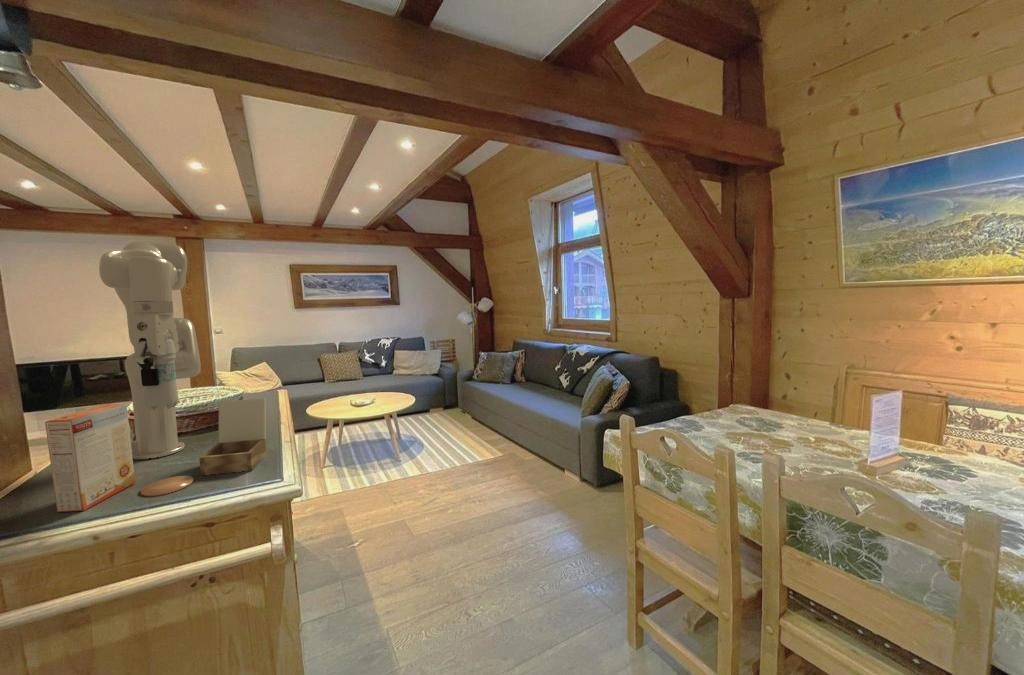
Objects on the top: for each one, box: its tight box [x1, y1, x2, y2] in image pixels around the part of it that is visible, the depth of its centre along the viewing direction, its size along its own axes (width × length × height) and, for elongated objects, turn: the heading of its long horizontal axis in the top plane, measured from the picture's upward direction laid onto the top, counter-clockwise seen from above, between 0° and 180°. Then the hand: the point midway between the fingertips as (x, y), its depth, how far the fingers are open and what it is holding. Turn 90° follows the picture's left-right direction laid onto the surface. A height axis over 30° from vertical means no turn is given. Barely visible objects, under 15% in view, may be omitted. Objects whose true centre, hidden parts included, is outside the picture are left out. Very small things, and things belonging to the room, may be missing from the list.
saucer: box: [140, 475, 194, 497], centre depth 101 cm, size 10×10×1 cm
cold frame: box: [199, 439, 267, 476], centre depth 114 cm, size 12×12×5 cm
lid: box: [218, 398, 267, 443], centre depth 121 cm, size 12×4×17 cm, turn 105°
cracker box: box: [44, 403, 136, 513], centre depth 95 cm, size 14×6×21 cm, turn 5°
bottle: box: [144, 339, 179, 410], centre depth 98 cm, size 7×7×20 cm
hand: (159, 382), depth 99 cm, fingers closed on bottle, 6 cm apart
